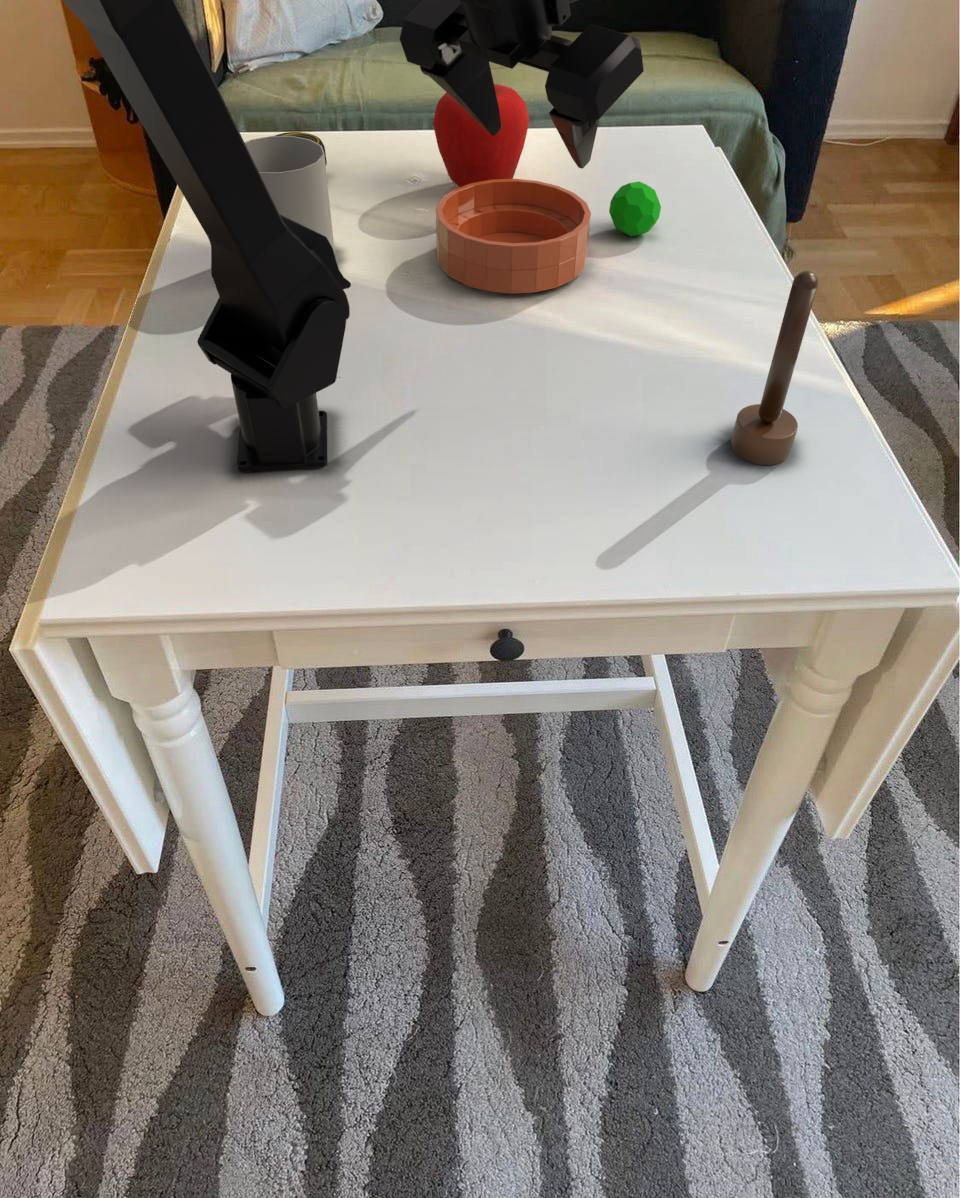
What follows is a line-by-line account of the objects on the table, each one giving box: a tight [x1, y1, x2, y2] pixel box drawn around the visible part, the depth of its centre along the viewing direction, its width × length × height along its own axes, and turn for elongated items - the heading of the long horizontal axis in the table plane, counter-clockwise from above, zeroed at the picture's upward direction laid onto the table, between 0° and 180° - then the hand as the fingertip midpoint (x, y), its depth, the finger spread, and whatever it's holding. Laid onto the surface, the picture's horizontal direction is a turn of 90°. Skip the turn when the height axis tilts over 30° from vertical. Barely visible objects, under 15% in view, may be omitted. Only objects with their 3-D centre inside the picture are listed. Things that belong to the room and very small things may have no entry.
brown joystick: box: [730, 270, 819, 466], centre depth 67 cm, size 4×4×14 cm
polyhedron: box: [608, 181, 662, 237], centre depth 95 cm, size 5×5×5 cm
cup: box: [244, 135, 336, 255], centre depth 88 cm, size 8×8×10 cm
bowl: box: [435, 178, 592, 294], centre depth 90 cm, size 14×14×5 cm
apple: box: [432, 83, 530, 188], centre depth 99 cm, size 10×10×11 cm
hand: (539, 147), depth 76 cm, fingers open, 9 cm apart
